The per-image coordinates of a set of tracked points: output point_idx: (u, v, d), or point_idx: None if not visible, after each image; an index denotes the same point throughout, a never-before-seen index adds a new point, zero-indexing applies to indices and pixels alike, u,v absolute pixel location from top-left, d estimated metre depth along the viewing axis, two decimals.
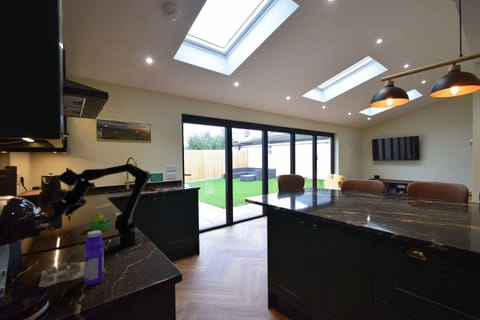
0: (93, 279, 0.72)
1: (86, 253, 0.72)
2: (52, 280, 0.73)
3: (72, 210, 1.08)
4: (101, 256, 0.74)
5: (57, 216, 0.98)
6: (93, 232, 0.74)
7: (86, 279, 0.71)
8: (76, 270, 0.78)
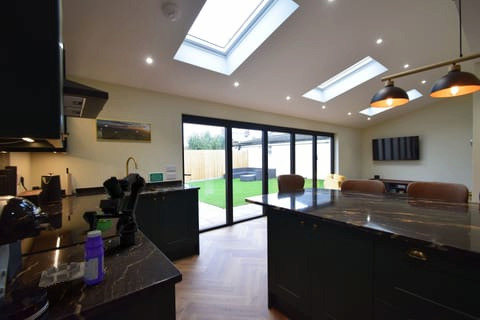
0: (93, 279, 0.72)
1: (86, 253, 0.72)
2: (52, 280, 0.73)
3: (94, 228, 0.85)
4: (101, 256, 0.74)
5: (122, 228, 0.86)
6: (93, 232, 0.74)
7: (86, 279, 0.71)
8: (76, 270, 0.78)
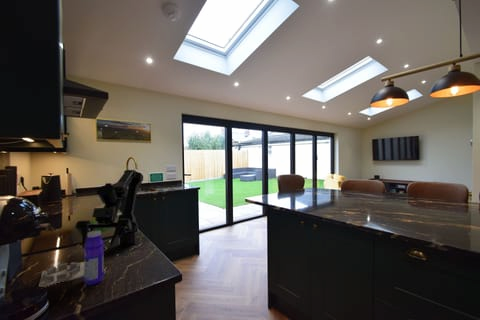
0: (93, 279, 0.72)
1: (86, 253, 0.72)
2: (52, 280, 0.73)
3: None
4: (101, 256, 0.74)
5: (117, 238, 0.81)
6: (93, 232, 0.74)
7: (86, 279, 0.71)
8: (76, 270, 0.78)
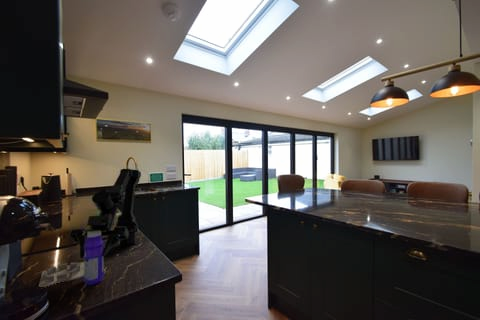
0: (93, 279, 0.72)
1: (86, 253, 0.72)
2: (52, 280, 0.73)
3: None
4: (101, 256, 0.73)
5: (110, 248, 0.77)
6: (93, 232, 0.74)
7: (86, 279, 0.71)
8: (76, 270, 0.78)
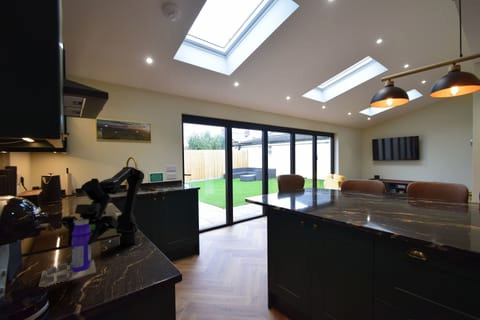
0: (79, 267, 0.72)
1: (72, 241, 0.72)
2: (52, 280, 0.73)
3: None
4: (87, 244, 0.74)
5: (97, 236, 0.77)
6: (80, 220, 0.75)
7: (72, 266, 0.72)
8: None
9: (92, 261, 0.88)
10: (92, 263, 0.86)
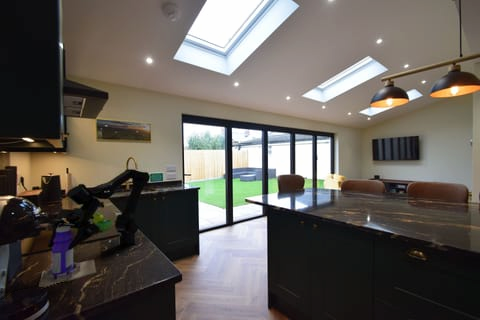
0: (56, 273, 0.74)
1: None
2: (52, 280, 0.73)
3: None
4: (64, 252, 0.76)
5: (79, 242, 0.78)
6: (61, 227, 0.78)
7: None
8: (76, 270, 0.78)
9: (92, 261, 0.88)
10: (92, 263, 0.86)
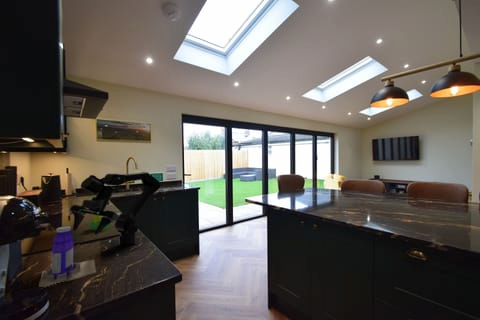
0: (56, 274, 0.74)
1: None
2: (52, 280, 0.73)
3: (79, 222, 0.91)
4: (64, 252, 0.75)
5: (102, 227, 0.90)
6: (62, 227, 0.78)
7: None
8: (76, 270, 0.78)
9: (92, 261, 0.88)
10: (92, 263, 0.86)
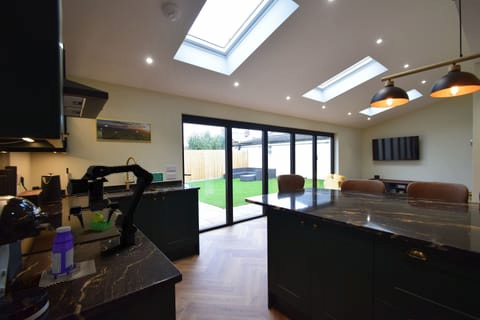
0: (56, 274, 0.74)
1: None
2: (52, 280, 0.73)
3: None
4: (64, 252, 0.75)
5: None
6: (62, 227, 0.78)
7: None
8: (76, 270, 0.78)
9: (92, 261, 0.88)
10: (92, 263, 0.86)
